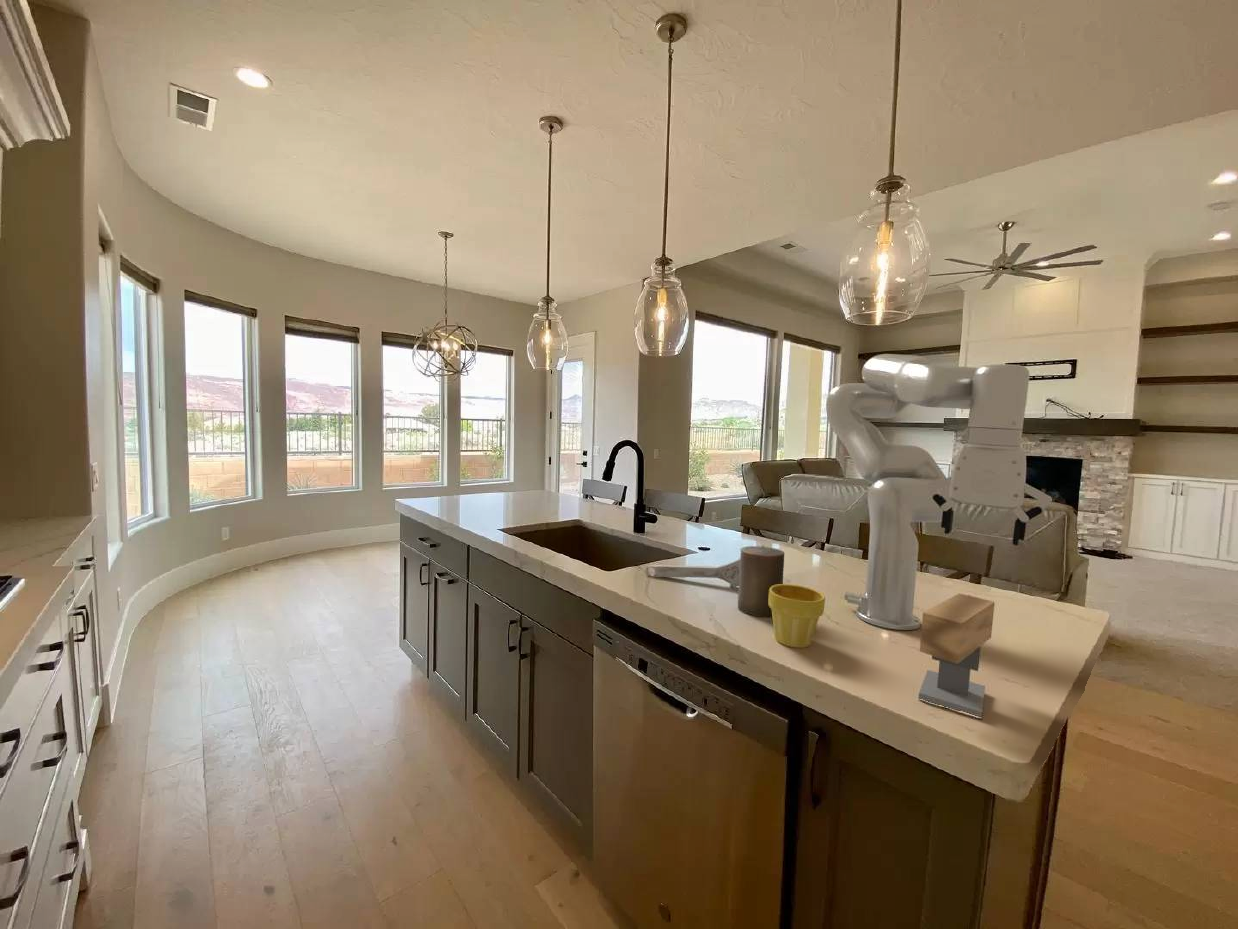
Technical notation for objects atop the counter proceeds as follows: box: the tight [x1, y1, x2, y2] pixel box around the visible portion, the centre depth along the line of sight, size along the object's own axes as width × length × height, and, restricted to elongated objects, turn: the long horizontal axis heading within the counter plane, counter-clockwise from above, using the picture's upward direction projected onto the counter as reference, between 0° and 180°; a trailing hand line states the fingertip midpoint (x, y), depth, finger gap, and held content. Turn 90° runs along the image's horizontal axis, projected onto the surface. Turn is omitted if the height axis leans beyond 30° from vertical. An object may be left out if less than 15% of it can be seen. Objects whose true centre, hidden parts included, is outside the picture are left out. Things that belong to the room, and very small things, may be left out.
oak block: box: [919, 592, 995, 664], centre depth 80 cm, size 5×16×6 cm, turn 130°
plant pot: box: [768, 583, 826, 648], centre depth 100 cm, size 10×10×10 cm
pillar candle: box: [737, 544, 785, 618], centre depth 116 cm, size 10×10×15 cm
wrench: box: [645, 558, 740, 590], centre depth 135 cm, size 8×2×30 cm
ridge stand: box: [918, 646, 986, 719], centre depth 81 cm, size 8×10×8 cm
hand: (980, 538), depth 89 cm, fingers open, 9 cm apart
